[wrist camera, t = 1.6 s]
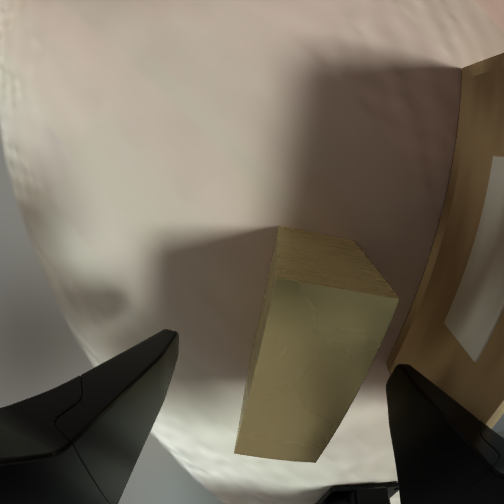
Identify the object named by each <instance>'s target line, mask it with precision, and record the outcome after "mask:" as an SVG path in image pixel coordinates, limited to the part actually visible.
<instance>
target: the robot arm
mask: <svg viewBox="0 0 504 504" xmlns="http://www.w3.org/2000/svg"><path fill="white" fill-rule="evenodd" d="M178 344H179V334H178V332H176V331H172V330H168V329H164V330H162V331H160V332H159V333H157V334H155V335H153V336H151V337H150V338H148V339H146V340H144V341H142V342H141V343H139V344H137V345H135V346H133V347H132V348H130V349H128V350H126V351H124V352H122V353H121V354H119V355H117V356H115V357H113V358H111V359H110V360H108V361H106V362H104V363H102V364H100V365H99V366H97V367H95V368H93V369H91V370H89V371H87V372H86V373H84V374H82V375H81V376H78V377H76V378H74V379H72V380H70V381H68V382H66V383H64V384H62V385H60V386H58V387H56V388H53V389H51V390H49V391H46V392H44V393H42V394H39V395H36V396H34V397H31V398H28V399H25V400H23V401H20V402H17V403H14V404H12V405H9V406H6V407H2V408H0V504H118V503H119V500H120V498H121V496H122V493H123V491H124V489H125V487H126V484H127V482H128V480H129V477H130V475H131V473H132V471H133V468H134V466H135V464H136V462H137V460H138V457H139V455H140V453H141V451H142V448H143V446H144V444H145V442H146V440H147V437H148V435H149V433H150V431H151V429H152V426H153V424H154V422H155V420H156V418H157V415H158V413H159V411H160V409H161V407H162V404H163V402H164V400H165V396H166V394H167V390H168V387H169V384H170V381H171V377H172V374H173V371H174V368H175V365H176V361H177V358H178ZM386 394H387V405H388V417H389V427H390V433H391V439H392V444H393V450H394V457H395V463H396V470H397V477H398V483H390V484H380V485H368V486H348V487H334V488H331V489H330V490H329V491H328V492H327V493H326V494H325V495H324V496H323V497H322V498H321V499H320V501H319V502H318V503H317V504H391V503H390V497H392V496H393V495H394V494H395V493H396V492H397V491H398V490H399V493H400V502H401V504H504V438H503V437H502V436H500V435H499V434H497V433H496V432H495V431H493V430H492V429H491V428H489V427H488V426H487V425H486V424H484V423H483V422H482V421H481V420H478V418H477V417H475V416H474V415H473V414H472V413H470V412H469V411H468V410H467V409H465V408H464V407H463V406H462V405H460V404H459V403H458V402H456V401H455V400H454V399H453V398H451V397H450V396H449V395H448V394H446V393H445V392H444V391H443V390H441V389H440V388H439V387H437V386H436V385H435V384H434V383H432V382H431V381H430V380H429V379H427V378H426V377H425V376H423V375H422V374H421V373H420V372H418V371H417V370H416V369H414V368H413V367H412V366H411V365H409V364H398V365H396V367H395V368H394V370H393V372H392V374H391V376H390V378H389V379H388V381H387V384H386Z"/></svg>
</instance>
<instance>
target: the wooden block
mask: <svg viewBox="0 0 504 504" xmlns="http://www.w3.org/2000/svg"><path fill="white" fill-rule="evenodd" d="M398 302H399V298H398V297H397V295H396V294H395V293H394V291H393V290H392V288H391V287H390V286H389V284H388V283H387V282H386V280H385V279H384V278H383V277H382V275H381V274H380V273H379V271H378V270H377V269H376V267H375V266H374V265H373V264H372V262H371V261H370V260H369V258H368V257H367V256H366V255H365V253H364V252H363V251H362V250H361V248H360V247H359V246H358V245H357V244H356V242H355V241H351V240H347V239H342V238H337V237H332V236H327V235H322V234H317V233H312V232H307V231H302V230H297V229H292V228H287V227H282V226H278V231H277V236H276V241H275V246H274V251H273V256H272V261H271V266H270V271H269V275H268V280H267V285H266V290H265V295H264V299H263V304H262V309H261V314H260V318H259V323H258V328H257V332H256V337H255V341H254V346H253V351H252V355H251V360H250V364H249V369H248V374H247V380H246V386H245V392H244V398H243V404H242V410H241V416H240V422H239V427H238V433H237V439H236V445H235V450H234V453H235V454H241V455H247V456H254V457H261V458H269V459H277V460H287V461H299V462H315V463H316V461H317V460H318V458H319V457H320V455H321V454H322V452H323V451H324V449H325V448H326V446H327V445H328V443H329V441H330V440H331V438H332V437H333V435H334V433H335V432H336V430H337V428H338V427H339V425H340V423H341V421H342V420H343V418H344V416H345V415H346V413H347V411H348V409H349V407H350V406H351V404H352V402H353V400H354V398H355V396H356V395H357V393H358V391H359V389H360V387H361V385H362V383H363V381H364V379H365V377H366V375H367V373H368V371H369V369H370V367H371V365H372V363H373V361H374V359H375V356H376V354H377V352H378V350H379V348H380V345H381V343H382V341H383V339H384V336H385V334H386V332H387V329H388V327H389V324H390V322H391V320H392V317H393V315H394V312H395V310H396V307H397V304H398Z"/></svg>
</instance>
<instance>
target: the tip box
mask: <svg viewBox="0 0 504 504" xmlns="http://www.w3.org/2000/svg"><path fill="white" fill-rule="evenodd" d="M398 364H409V365H411V366H412V367H413V368H414V369H416V370H417V371H418V372H420V373H421V374H422V375H423V376H425V377H426V378H427V379H429V380H430V381H431V382H432V383H434V384H435V385H436V386H437V387H439V388H440V389H441V390H443V391H444V392H445V393H446V394H448V395H449V396H450V397H451V398H453V399H454V400H455V401H456V402H458V403H459V404H460V405H462V406H463V407H464V408H465V409H467V410H468V411H469V412H470V413H472V414H473V415H474V416H475V417H477V418H478V420H481V421H482V422H483V423H484V424H486V425H487V426H488V427H489V428H491V429H492V430H493V431H495V432H496V433H497V434H499V435H500V436H502V437H503V438H504V53H502V54H499V55H497V56H494V57H491V58H488V59H485V60H483V61H480V62H477V63H475V64H472V65H469V66H467V67H464V68H462V83H461V100H460V112H459V121H458V130H457V138H456V145H455V151H454V157H453V163H452V169H451V174H450V179H449V184H448V189H447V193H446V198H445V202H444V206H443V210H442V214H441V218H440V222H439V226H438V229H437V233H436V236H435V240H434V243H433V247H432V250H431V253H430V256H429V259H428V262H427V265H426V268H425V271H424V274H423V277H422V280H421V283H420V286H419V288H418V291H417V294H416V296H415V299H414V301H413V304H412V307H411V309H410V312H409V314H408V316H407V319H406V321H405V324H404V326H403V328H402V330H401V333H400V335H399V337H398V339H397V342H396V344H395V346H394V348H393V350H392V352H391V354H390V357H389V359H388V361H387V363H386V365H387V367H388V370H389V372H390V375H391V374H392V372H393V370H394V368H395V367H396V365H398Z"/></svg>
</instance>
